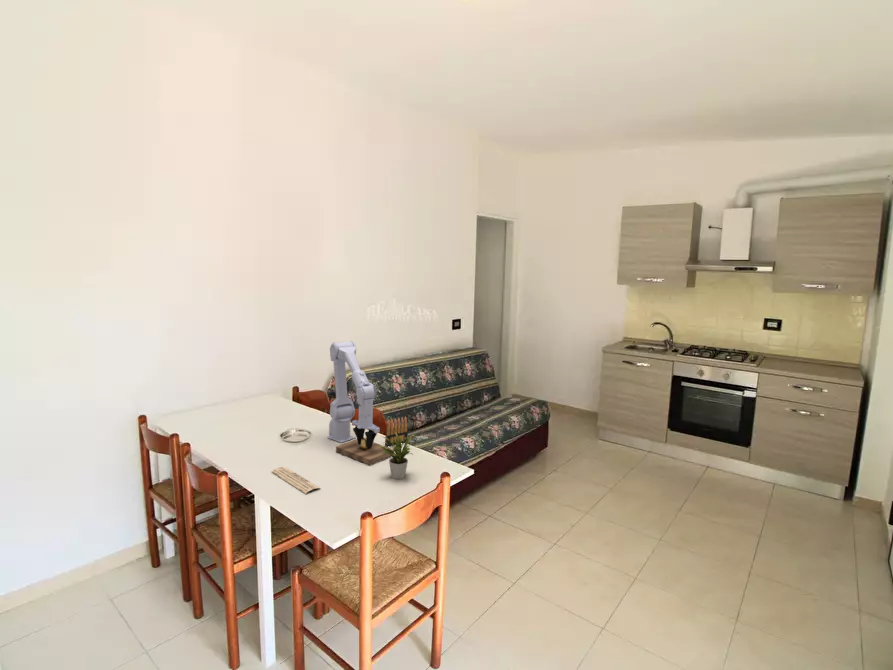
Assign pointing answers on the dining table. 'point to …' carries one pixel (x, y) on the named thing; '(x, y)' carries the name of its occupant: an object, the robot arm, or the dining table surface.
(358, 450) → the walnut socket board
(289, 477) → the wooden slat
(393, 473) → the house plant
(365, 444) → the brass peg
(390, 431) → the ammunition clip
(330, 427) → the robot arm
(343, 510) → the dining table surface
